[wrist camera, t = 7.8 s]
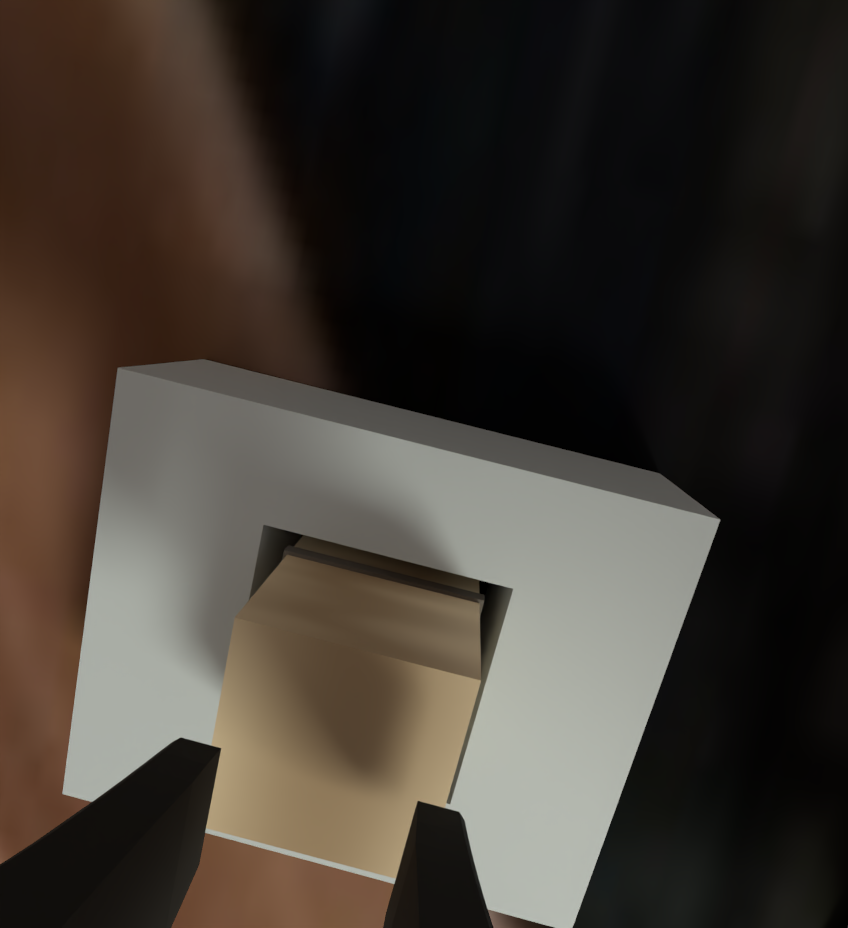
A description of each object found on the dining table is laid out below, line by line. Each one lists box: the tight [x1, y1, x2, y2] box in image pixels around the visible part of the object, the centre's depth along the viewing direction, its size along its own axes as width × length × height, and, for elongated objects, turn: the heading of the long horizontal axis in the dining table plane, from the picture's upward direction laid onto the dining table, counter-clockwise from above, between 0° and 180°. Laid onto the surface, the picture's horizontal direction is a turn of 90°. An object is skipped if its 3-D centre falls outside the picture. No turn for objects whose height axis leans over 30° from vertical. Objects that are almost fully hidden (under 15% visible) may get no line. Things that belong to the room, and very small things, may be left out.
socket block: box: [63, 359, 720, 928], centre depth 15 cm, size 12×10×4 cm
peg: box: [206, 535, 484, 879], centre depth 14 cm, size 4×4×7 cm
